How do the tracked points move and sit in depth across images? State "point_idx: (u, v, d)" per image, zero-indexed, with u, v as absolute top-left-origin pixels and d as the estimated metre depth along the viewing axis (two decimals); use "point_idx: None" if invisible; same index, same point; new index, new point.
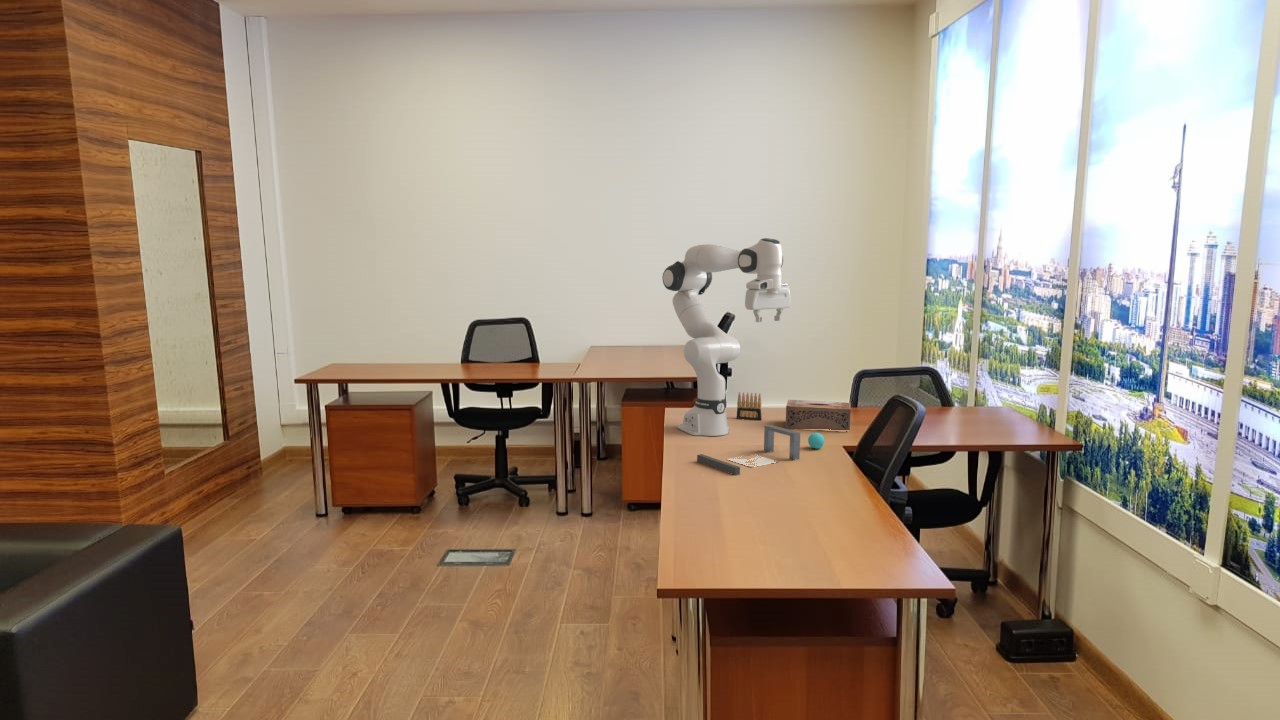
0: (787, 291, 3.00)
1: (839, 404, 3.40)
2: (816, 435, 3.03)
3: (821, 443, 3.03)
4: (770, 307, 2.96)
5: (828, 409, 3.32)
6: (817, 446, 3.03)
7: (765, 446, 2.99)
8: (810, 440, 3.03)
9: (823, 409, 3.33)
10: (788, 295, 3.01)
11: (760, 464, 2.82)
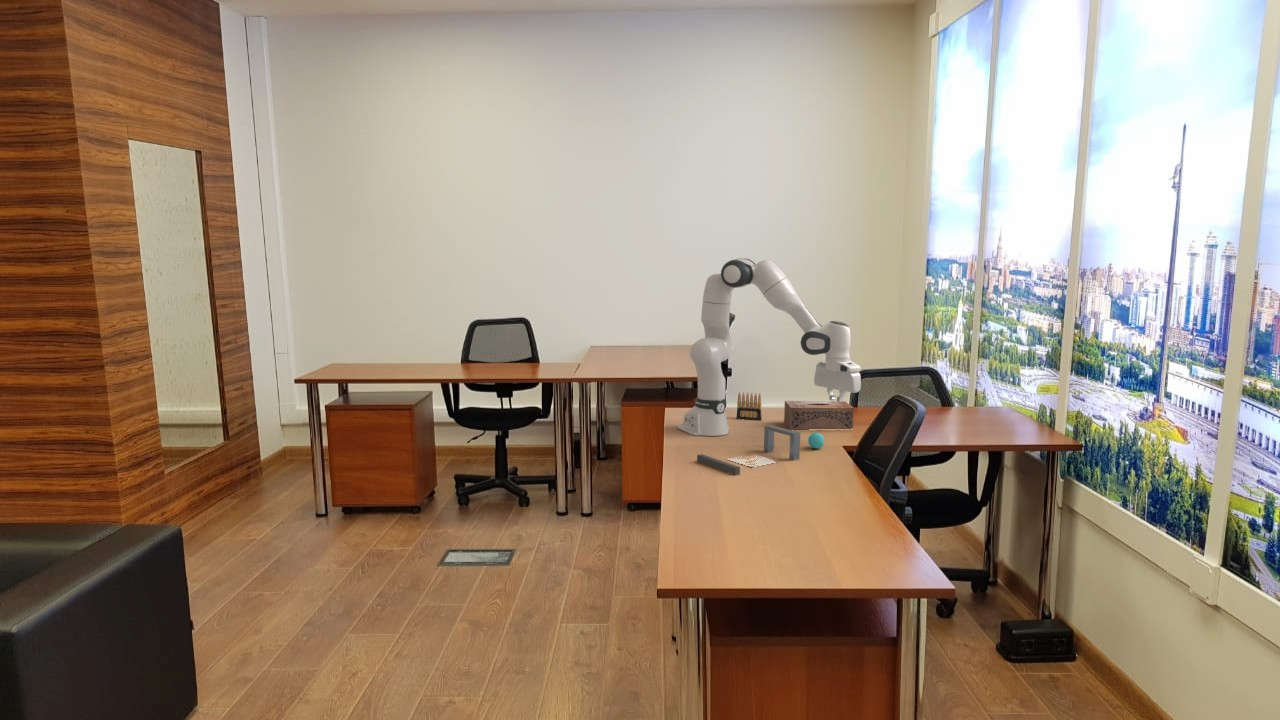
0: None
1: (837, 403, 3.42)
2: (816, 435, 3.03)
3: (821, 443, 3.03)
4: None
5: (832, 409, 3.33)
6: (817, 446, 3.03)
7: (765, 446, 2.99)
8: (810, 440, 3.03)
9: (827, 409, 3.33)
10: None
11: (760, 464, 2.82)
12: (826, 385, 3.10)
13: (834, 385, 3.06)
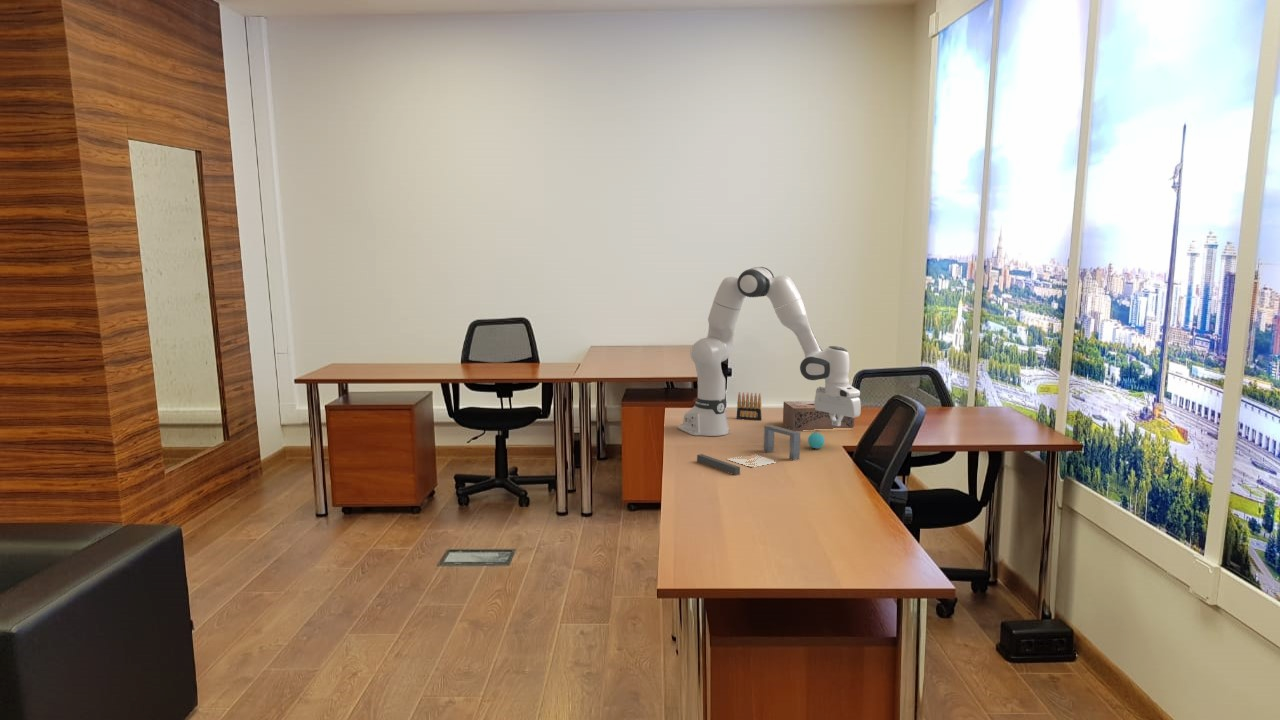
0: None
1: None
2: (816, 435, 3.03)
3: (821, 443, 3.03)
4: None
5: None
6: (817, 446, 3.03)
7: (765, 446, 2.99)
8: (810, 440, 3.03)
9: None
10: None
11: (760, 464, 2.82)
12: (826, 410, 3.11)
13: (834, 410, 3.07)
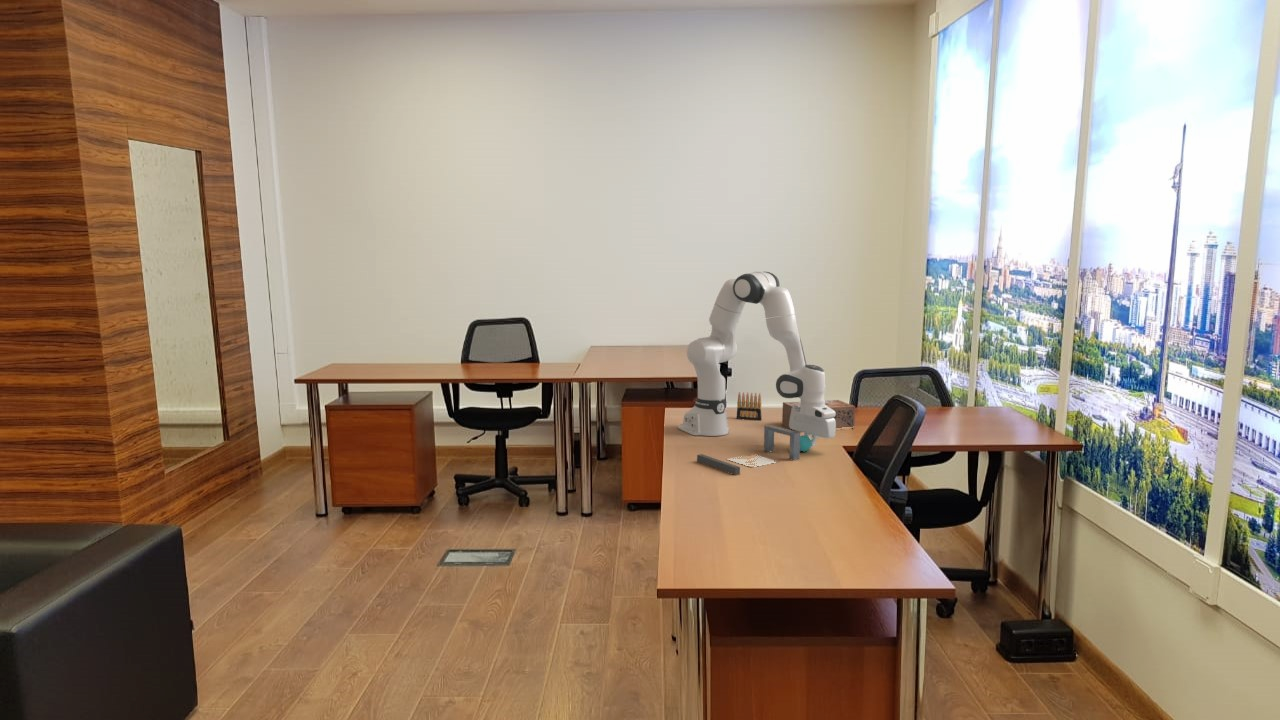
0: None
1: (834, 402, 3.44)
2: (803, 451, 2.99)
3: (810, 445, 2.99)
4: None
5: (835, 408, 3.34)
6: None
7: (765, 446, 2.99)
8: None
9: None
10: None
11: (760, 464, 2.82)
12: (801, 429, 3.05)
13: (809, 430, 3.01)
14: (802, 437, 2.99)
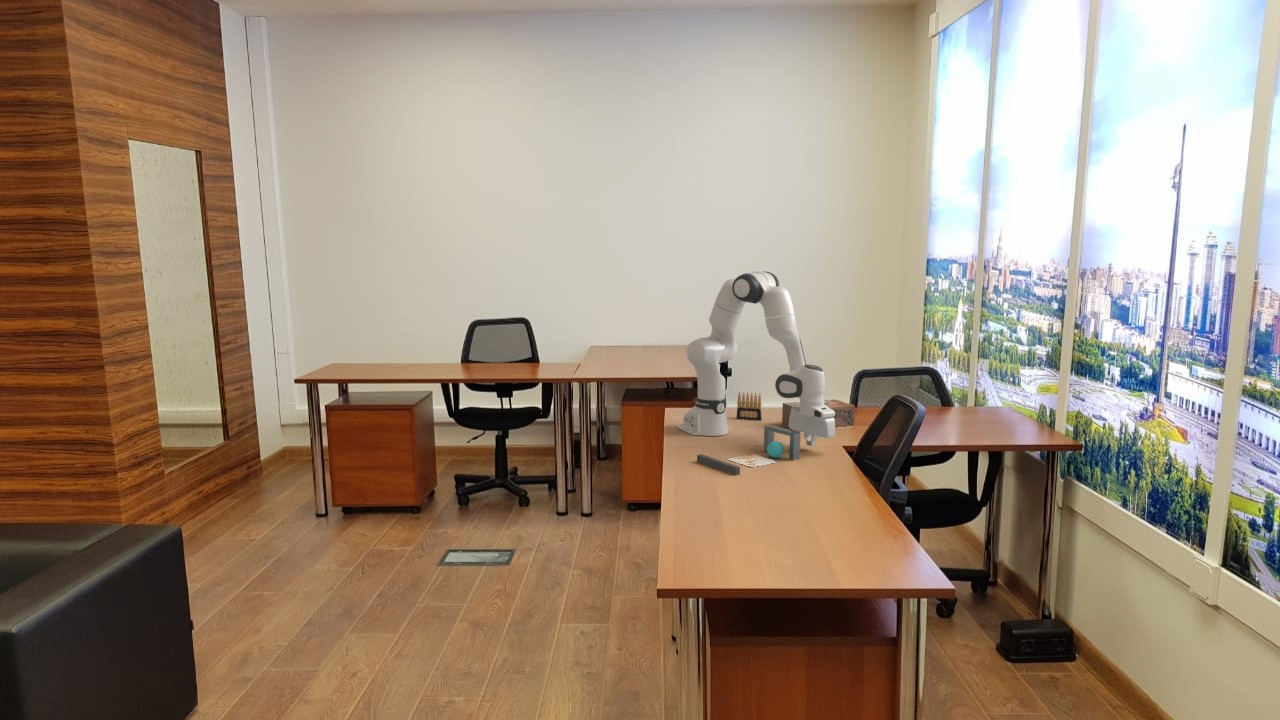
0: None
1: (833, 402, 3.45)
2: (772, 449, 2.89)
3: (781, 453, 2.89)
4: None
5: (836, 408, 3.35)
6: (779, 456, 2.90)
7: (765, 446, 2.99)
8: (770, 455, 2.91)
9: (832, 408, 3.34)
10: None
11: (760, 464, 2.82)
12: (800, 429, 3.04)
13: (809, 430, 3.01)
14: None
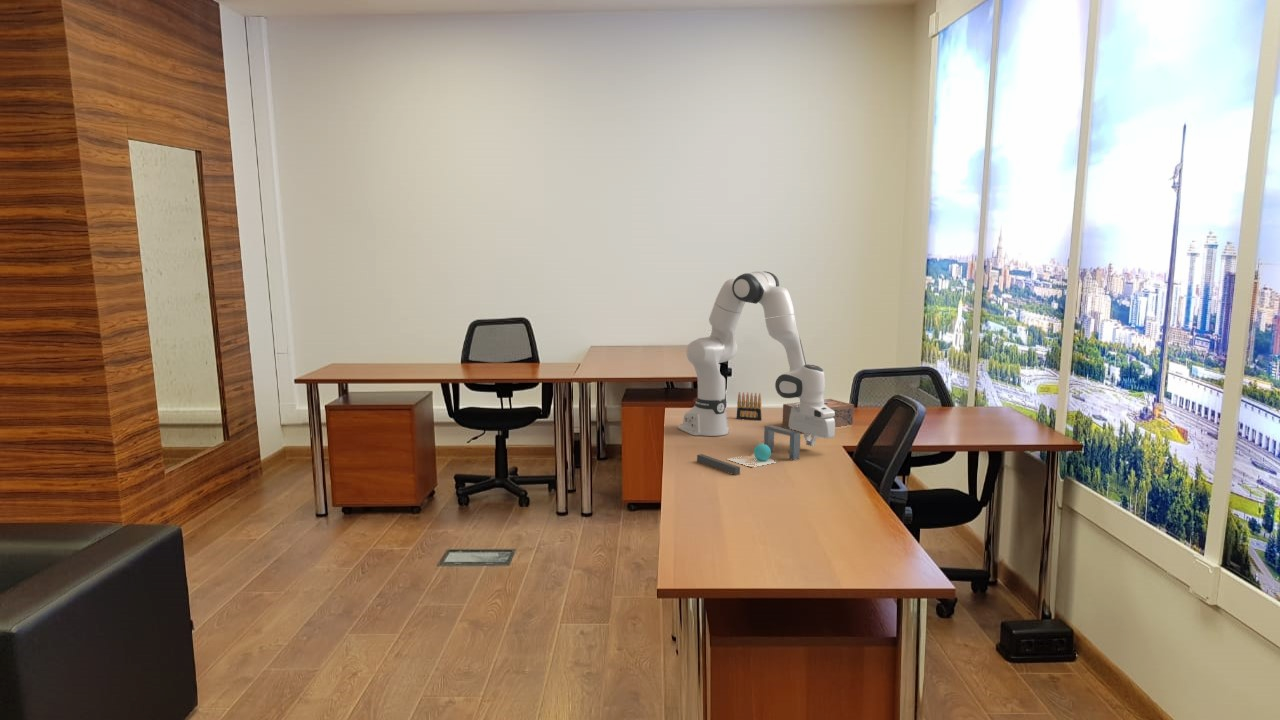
0: None
1: (830, 401, 3.46)
2: None
3: (769, 452, 2.85)
4: None
5: (838, 407, 3.36)
6: (769, 448, 2.87)
7: None
8: None
9: (834, 408, 3.35)
10: None
11: (760, 464, 2.82)
12: (800, 429, 3.04)
13: (809, 430, 3.01)
14: (758, 452, 2.85)
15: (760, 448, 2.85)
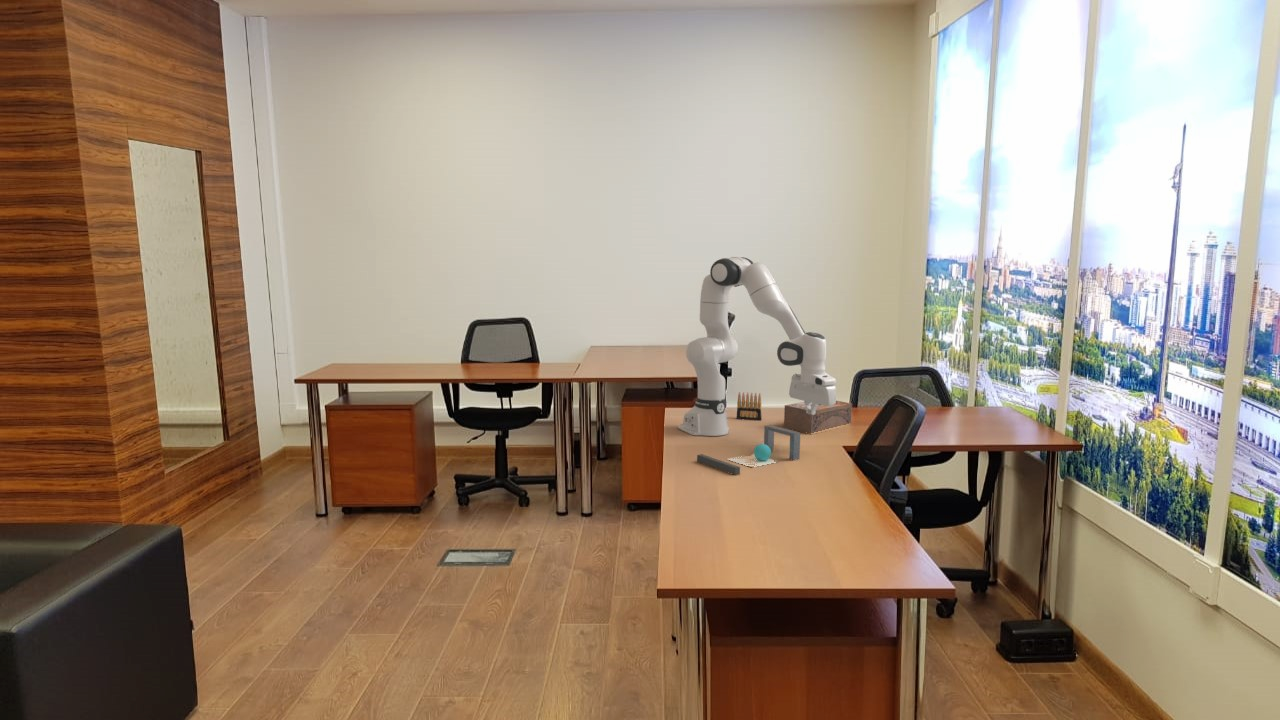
0: None
1: None
2: None
3: (769, 452, 2.85)
4: None
5: (838, 407, 3.37)
6: (769, 448, 2.87)
7: None
8: None
9: (835, 408, 3.36)
10: None
11: (760, 464, 2.82)
12: (801, 397, 3.03)
13: (809, 398, 2.99)
14: (758, 452, 2.85)
15: (760, 448, 2.85)
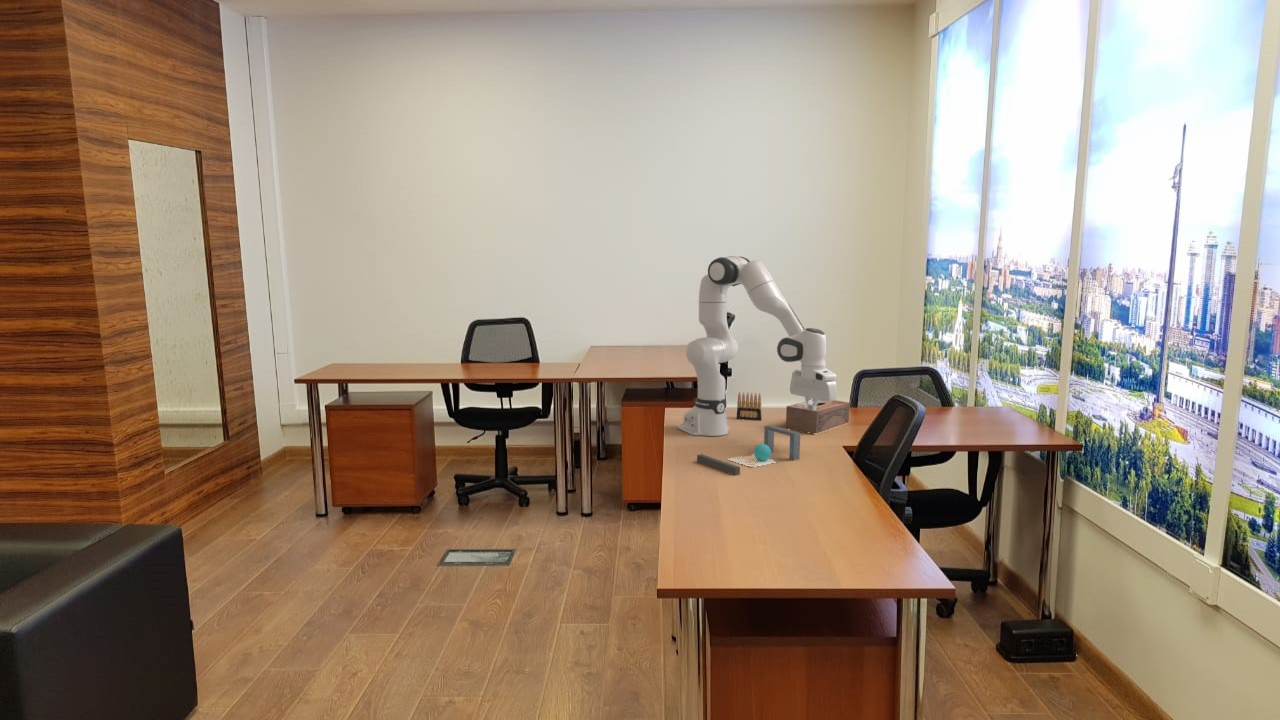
0: None
1: None
2: None
3: (769, 452, 2.85)
4: None
5: (839, 406, 3.38)
6: (769, 448, 2.87)
7: None
8: None
9: (836, 407, 3.37)
10: None
11: (760, 464, 2.82)
12: (802, 394, 3.02)
13: (810, 393, 2.99)
14: (758, 452, 2.85)
15: (760, 448, 2.85)
